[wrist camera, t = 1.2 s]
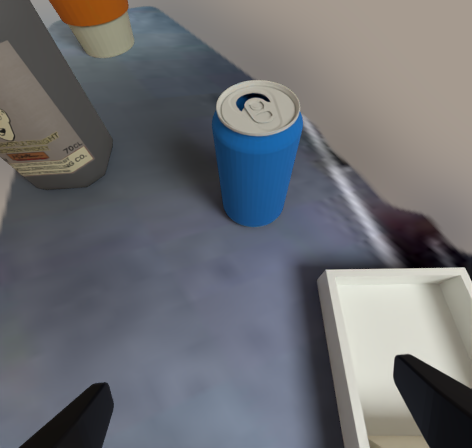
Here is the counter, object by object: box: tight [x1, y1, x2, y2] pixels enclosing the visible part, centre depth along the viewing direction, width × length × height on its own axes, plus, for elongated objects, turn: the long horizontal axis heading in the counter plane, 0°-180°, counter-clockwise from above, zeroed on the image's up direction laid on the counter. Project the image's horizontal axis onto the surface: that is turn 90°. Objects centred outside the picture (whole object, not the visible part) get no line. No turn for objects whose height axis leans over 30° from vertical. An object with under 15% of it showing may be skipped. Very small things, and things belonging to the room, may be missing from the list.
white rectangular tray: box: [317, 268, 472, 448], centre depth 17 cm, size 17×11×3 cm, turn 0°
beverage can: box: [212, 80, 303, 227], centre depth 22 cm, size 6×6×12 cm
